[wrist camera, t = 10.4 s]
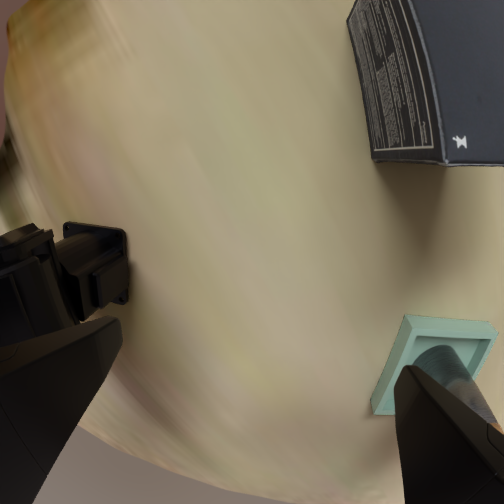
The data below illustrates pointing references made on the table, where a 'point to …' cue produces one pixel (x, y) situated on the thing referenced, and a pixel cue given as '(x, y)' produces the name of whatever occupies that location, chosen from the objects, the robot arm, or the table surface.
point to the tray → (424, 337)
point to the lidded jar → (455, 379)
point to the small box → (432, 79)
